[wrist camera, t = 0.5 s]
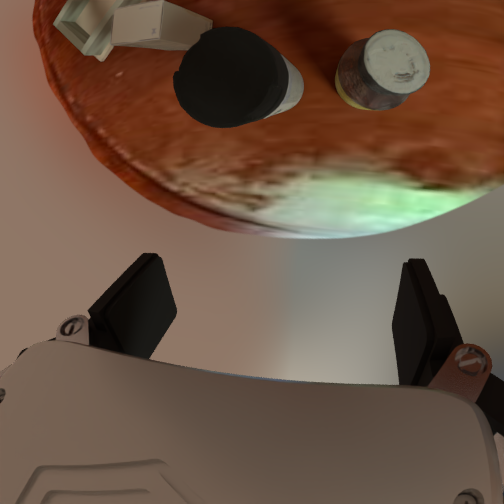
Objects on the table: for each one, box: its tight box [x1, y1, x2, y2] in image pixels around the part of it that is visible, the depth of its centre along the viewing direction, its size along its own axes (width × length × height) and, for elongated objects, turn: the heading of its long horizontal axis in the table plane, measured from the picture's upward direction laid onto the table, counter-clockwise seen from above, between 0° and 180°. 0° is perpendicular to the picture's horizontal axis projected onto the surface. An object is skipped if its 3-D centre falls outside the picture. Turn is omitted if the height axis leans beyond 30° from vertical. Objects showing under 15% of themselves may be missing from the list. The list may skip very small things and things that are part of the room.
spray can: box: [173, 27, 304, 128], centre depth 24 cm, size 7×7×20 cm
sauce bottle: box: [335, 29, 430, 110], centre depth 21 cm, size 6×6×20 cm
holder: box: [53, 0, 151, 61], centre depth 28 cm, size 12×12×4 cm
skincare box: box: [110, 0, 213, 50], centre depth 26 cm, size 6×4×12 cm
